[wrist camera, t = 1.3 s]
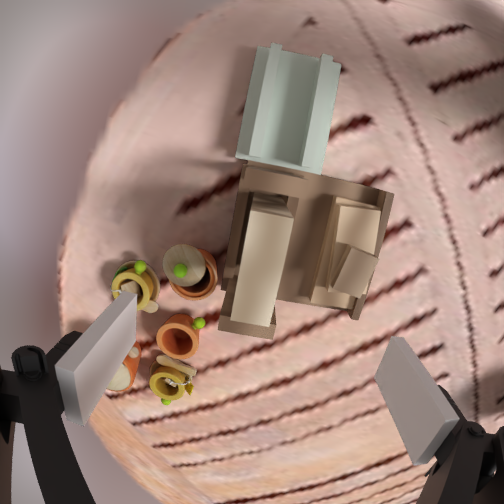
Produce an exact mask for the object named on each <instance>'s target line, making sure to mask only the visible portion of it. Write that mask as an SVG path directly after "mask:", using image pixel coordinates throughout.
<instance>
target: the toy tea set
mask: <svg viewBox="0 0 504 504" xmlns="http://www.w3.org/2000/svg"><path fill="white" fill-rule="evenodd" d="M162 266H163V270H164V273H165V275H166V276H167V278H168V279H169V282H170V285H171V287H172V289H173V290H174V291H175V292H176V293H177V294H178V295H179V296H181V297H182V298H185V299H187V300H201V299H204V298H206V297H208V296H209V295H210V294H211V293H212V292H213V291H214V290H215V287H216V285H217V264H216V261H215V259H214V257H213V256H212V255H211V254H210V253H209V252H207V251H206V250H203V249H196V248H195V247H193V246H191V245H188V244H178V245H175V246H173V247H171V248H170V249H169V250H167V252H166V253H165V255H164V257H163V261H162ZM112 282H113V283H112V285H111V287H110V290H111V291H112V293H113V296H114V298H115V299H116V298H117V297H118V296H119V295H120V294H121V293H122V292H123V291H126V292H130V293H134V294H137V311H139V310H144V311H145V312H148V313H154V312H156V311H157V310H158V304H157V303H156V302H155V301H156V300H157V298H158V296H159V293H160V282H159V278H158V276H157V274H156V273H155V271H154V270H153V269H152V268H151V267H150V266H149V265H147V264H146V263H145V262H144V261H143V260H138V261H129V262H126V263H124V264H122V265H121V266H120V267H119V268H118V270H117V271H116V273H115V276H114V279H113V281H112ZM204 325H205V321H204V319H203V318H201V317H197V318H195V319H193V318H192V317H190V316H188V315H186V314H176V315H173V316H172V317H170V318H169V319H168V320H167V321H166V322H165V323H164V324H163V325H162V326H161V327H160V328H159V330H158V332H157V335H156V340H157V344H158V346H159V348H160V349H161V350H162V352H164V353H165V354H166V355H164V354H160V355H158V356H157V358H156V361H154V362H153V363H152V365H151V366H150V376H151V377H150V380H149V385H150V388H151V390H152V391H153V393H155V394H156V395H157V396H158V397H160V398H161V402H162V403H163V404H164V405H169V404H170V403H171V400H177V399H179V398H181V397H182V396H183V394H184V391H185V390H186V391H187V392H188V394H189V395H190V396H191V393H192V390H193V387H194V386H193V385H192V384H191V382H192V376H195V374H196V372H197V370H196V369H195V368H194V367H191V366H189V365H186V364H184V363H182V362H181V361H179V360H177V359H186V358H189V357H191V356H193V355H194V354H195V353H196V351H197V349H198V345H199V329H201V328H203V327H204ZM167 355H168V356H167ZM170 357H172V358H170ZM140 358H141V348H140V345H139V343H138V342H137V341H136V342H135V343H134V345H133V346H132V348H131V349H130V351H129V353H128V354H127V356H126V357H125V359H124V361H123V362H122V364H121V365H120V367H119V369H118V370H117V372H116V374H115V375H114V377H113V378H112V380H111V382H110V383H109V385H108V387H107V388H106V389H108V390H111V391H117V392H118V391H125V390H127V389H129V388H130V387H131V386H132V384H133V382H134V379H135V375H136V372H137V368H138V365H139V361H140Z"/></svg>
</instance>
